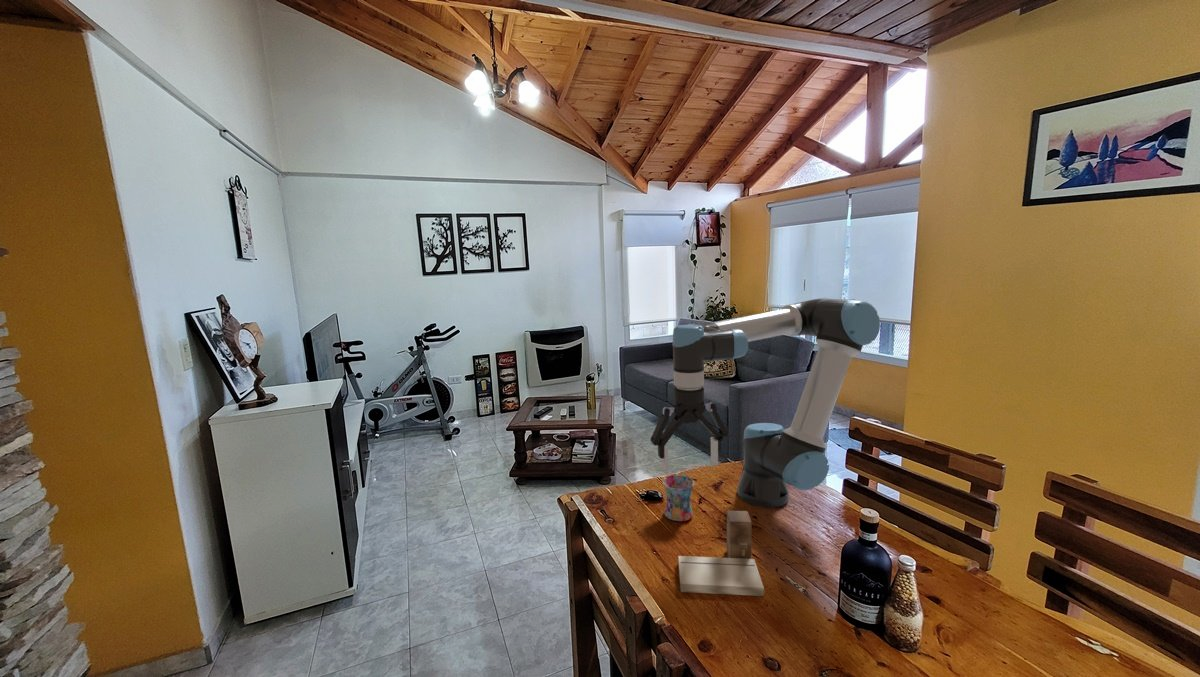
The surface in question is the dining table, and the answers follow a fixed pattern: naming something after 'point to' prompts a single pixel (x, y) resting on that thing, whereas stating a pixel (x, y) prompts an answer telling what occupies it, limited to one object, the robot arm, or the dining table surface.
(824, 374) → the robot arm
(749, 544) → the brown box
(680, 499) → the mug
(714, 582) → the board
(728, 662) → the dining table surface
